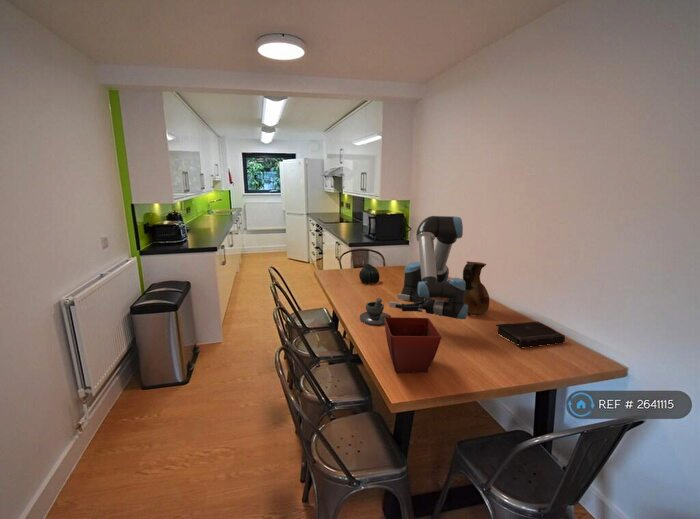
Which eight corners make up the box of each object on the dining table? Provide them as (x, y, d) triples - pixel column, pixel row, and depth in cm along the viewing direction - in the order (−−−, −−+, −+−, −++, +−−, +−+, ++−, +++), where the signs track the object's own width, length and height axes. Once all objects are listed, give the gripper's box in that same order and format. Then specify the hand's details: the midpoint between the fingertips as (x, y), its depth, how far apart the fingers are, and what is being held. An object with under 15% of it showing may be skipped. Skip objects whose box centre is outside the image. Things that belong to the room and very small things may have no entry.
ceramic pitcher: (493, 312, 201) (499, 262, 194) (479, 321, 186) (485, 268, 180) (461, 303, 214) (466, 256, 207) (446, 311, 199) (450, 261, 193)
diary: (564, 345, 162) (566, 335, 161) (520, 350, 155) (521, 340, 154) (534, 328, 179) (535, 319, 178) (493, 333, 173) (494, 323, 172)
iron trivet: (379, 311, 197) (379, 309, 197) (397, 322, 183) (397, 319, 182) (353, 316, 189) (354, 314, 188) (371, 328, 174) (371, 325, 174)
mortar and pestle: (362, 314, 188) (363, 293, 186) (378, 312, 192) (379, 292, 189) (371, 322, 178) (372, 300, 176) (387, 319, 182) (388, 298, 179)
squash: (380, 279, 244) (379, 261, 251) (359, 280, 244) (359, 261, 252) (379, 288, 256) (378, 270, 264) (359, 288, 257) (359, 270, 264)
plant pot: (426, 353, 149) (428, 317, 146) (438, 377, 131) (442, 336, 127) (382, 353, 149) (384, 316, 145) (388, 377, 130) (390, 336, 126)
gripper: (428, 323, 160) (385, 314, 168) (439, 306, 182) (400, 299, 191) (430, 307, 158) (386, 300, 167) (440, 292, 180) (401, 286, 189)
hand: (393, 300), depth 179 cm, fingers open, 13 cm apart
